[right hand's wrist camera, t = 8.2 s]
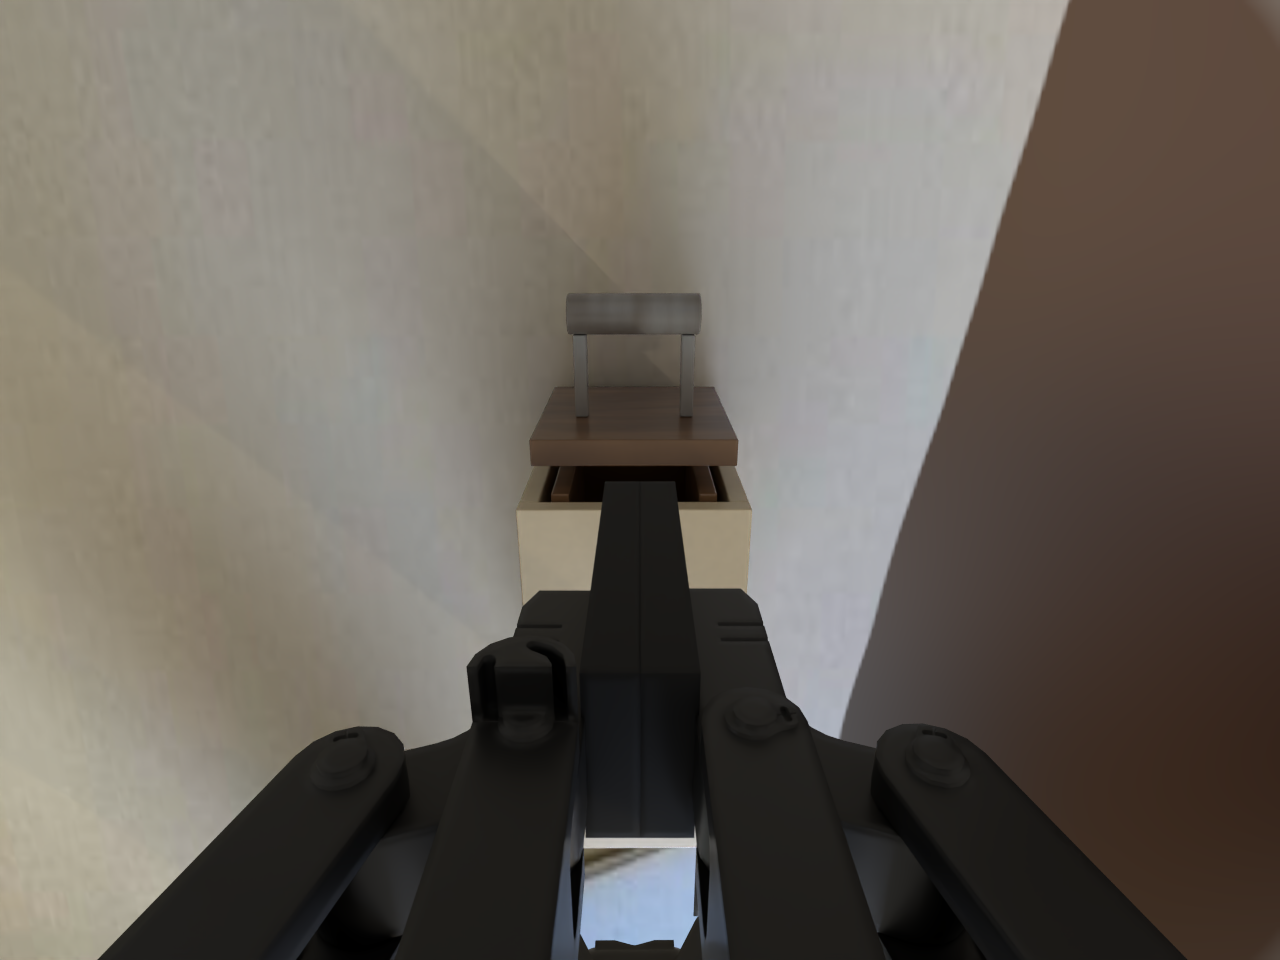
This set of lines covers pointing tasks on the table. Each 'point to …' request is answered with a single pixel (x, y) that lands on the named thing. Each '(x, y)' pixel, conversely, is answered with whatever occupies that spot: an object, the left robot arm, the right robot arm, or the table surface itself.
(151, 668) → the table surface
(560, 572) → the cabinet
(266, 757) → the table surface
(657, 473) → the drawer
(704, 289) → the table surface
